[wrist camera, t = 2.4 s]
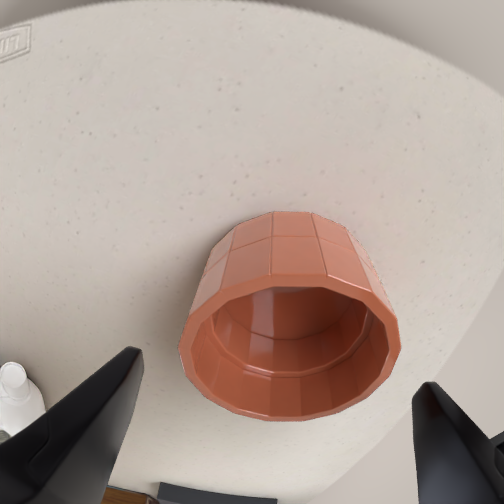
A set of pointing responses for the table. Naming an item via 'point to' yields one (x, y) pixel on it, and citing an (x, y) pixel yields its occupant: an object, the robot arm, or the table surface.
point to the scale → (203, 497)
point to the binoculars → (18, 399)
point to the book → (125, 497)
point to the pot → (289, 321)
